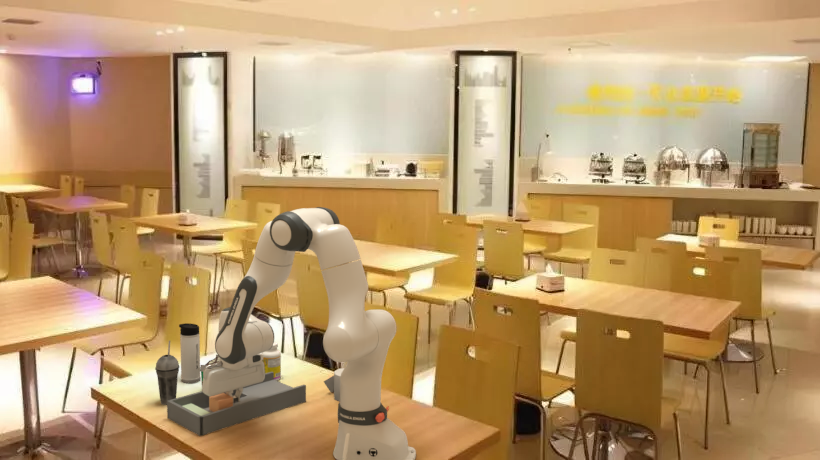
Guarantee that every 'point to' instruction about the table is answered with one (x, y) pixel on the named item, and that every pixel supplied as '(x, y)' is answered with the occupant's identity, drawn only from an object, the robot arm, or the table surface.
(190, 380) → the travel mug
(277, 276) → the robot arm
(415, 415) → the table surface
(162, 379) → the beverage cup
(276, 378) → the supplement bottle
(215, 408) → the terracotta block
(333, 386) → the toilet tissue
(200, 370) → the food container
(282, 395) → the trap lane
